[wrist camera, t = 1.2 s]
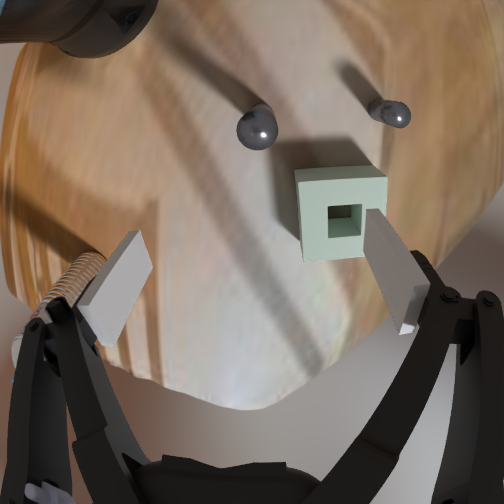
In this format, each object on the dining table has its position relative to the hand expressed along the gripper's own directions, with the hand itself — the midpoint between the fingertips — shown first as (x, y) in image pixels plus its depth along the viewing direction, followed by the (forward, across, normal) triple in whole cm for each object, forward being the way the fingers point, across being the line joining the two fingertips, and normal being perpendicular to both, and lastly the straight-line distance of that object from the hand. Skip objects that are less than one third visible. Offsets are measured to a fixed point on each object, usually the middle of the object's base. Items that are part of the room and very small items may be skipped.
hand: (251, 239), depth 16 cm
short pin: (+20, +15, +5) cm, 25 cm away
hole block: (+20, +9, -7) cm, 23 cm away
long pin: (+20, +1, +5) cm, 20 cm away
